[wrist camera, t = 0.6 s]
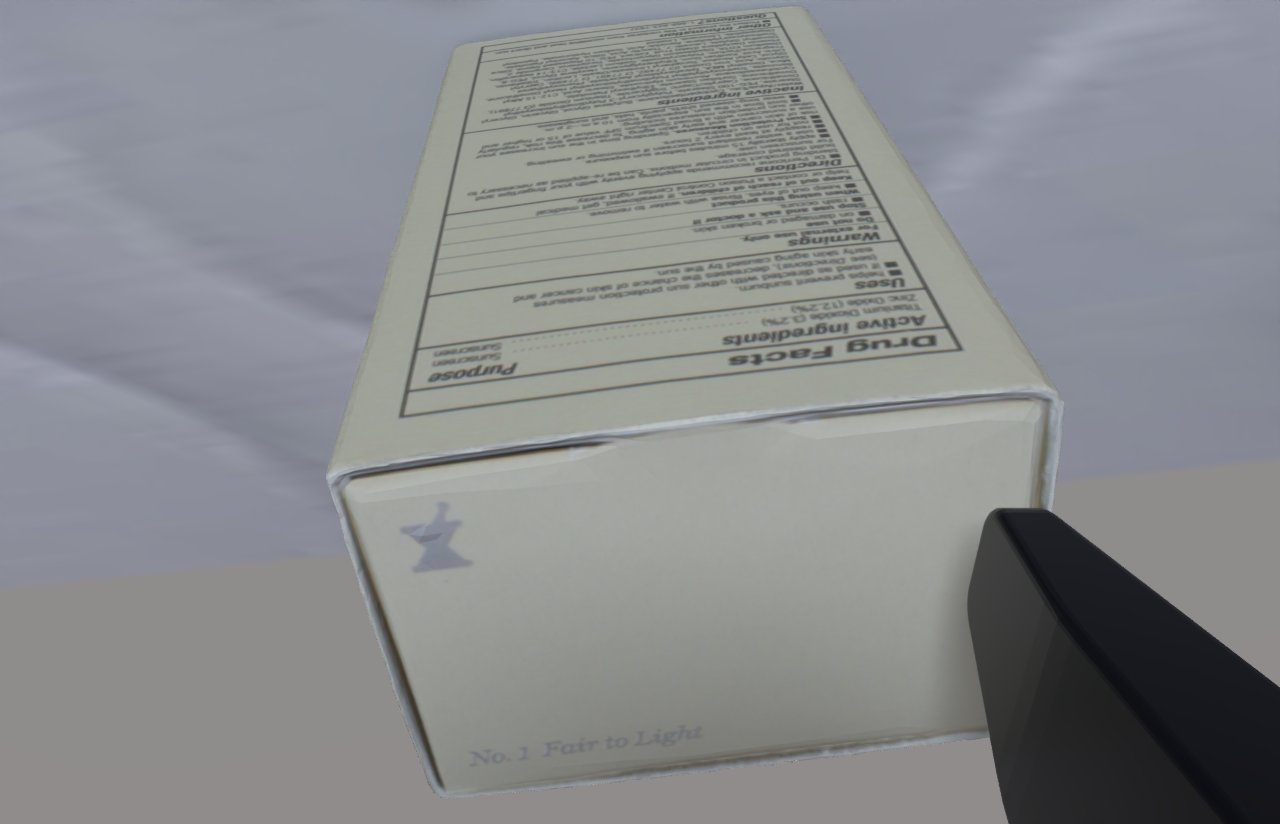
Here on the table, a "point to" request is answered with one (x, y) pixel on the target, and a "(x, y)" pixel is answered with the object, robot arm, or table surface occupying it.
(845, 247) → the skincare box
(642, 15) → the table surface
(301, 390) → the table surface
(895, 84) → the table surface
